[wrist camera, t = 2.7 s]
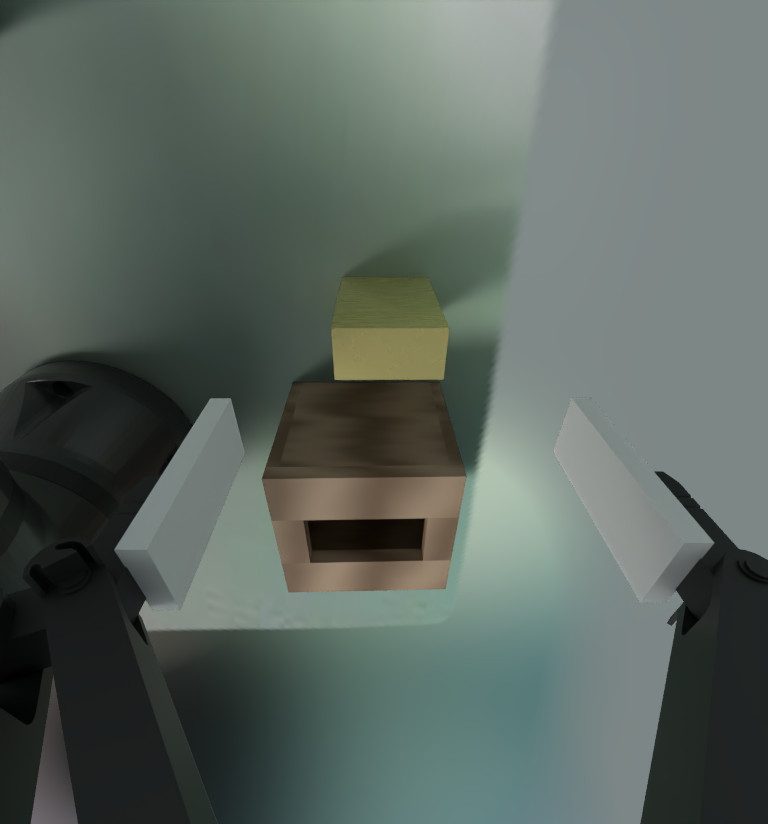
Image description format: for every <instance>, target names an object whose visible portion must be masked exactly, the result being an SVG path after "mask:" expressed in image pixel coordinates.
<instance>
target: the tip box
mask: <svg viewBox="0 0 768 824" xmlns="http://www.w3.org/2000/svg"><path fill="white" fill-rule="evenodd" d="M465 481H466V473H465V470H464V467H463V463H462V460H461V456H460V453H459V449H458V446H457V442H456V439H455V435H454V432H453V428H452V425H451V421H450V418H449V414H448V411H447V407H446V404H445V401H444V397H443V394H442V390H441V387H440V383H439V382H296V383H292V387H291V390H290V393H289V396H288V399H287V402H286V405H285V408H284V412H283V415H282V418H281V421H280V424H279V427H278V430H277V433H276V436H275V440H274V443H273V446H272V449H271V452H270V455H269V458H268V461H267V464H266V468H265V471H264V474H263V477H262V482H263V486H264V490H265V495H266V499H267V503H268V507H269V512H270V516H271V520H272V524H273V528H274V533H275V537H276V541H277V545H278V550H279V554H280V558H281V562H282V566H283V571H284V575H285V579H286V583H287V587H288V592H329V591H375V590H421V589H446V583H447V578H448V572H449V567H450V562H451V556H452V551H453V546H454V540H455V535H456V530H457V524H458V519H459V513H460V508H461V503H462V497H463V492H464V487H465Z"/></svg>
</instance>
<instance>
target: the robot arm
mask: <svg viewBox="0 0 768 824" xmlns="http://www.w3.org/2000/svg"><path fill="white" fill-rule="evenodd" d="M553 453H554V454H555V456H556V458H557V460H558V461H559V463H560V464H561V467H562V468H563V470H564V472H565V473H566V475H567V477H568V478H569V480H570V482H571V484H572V486H573V487H574V489H575V490H576V492H577V494H578V496H579V498H580V499H581V501H582V503H583V505H584V506H585V508H586V510H587V511H588V513H589V515H590V517H591V518H592V520H593V521H594V524H595V525H596V527H597V529H598V530H599V532H600V534H601V536H602V537H603V539H604V541H605V542H606V544H607V546H608V548H609V549H610V551H611V553H612V554H613V556H614V558H615V560H616V561H617V563H618V565H619V567H620V568H621V570H622V572H623V573H624V575H625V577H626V578H627V580H628V582H629V584H630V586H631V587H632V589H633V591H634V592H635V594H636V596H637V598H638V599H639V601H640V602H641V603H649V602H650V603H653V602H667V601H668V600H669V598H670V597H671V596H672V595H673V593H674V592H675V591H677V592H678V593H679V595H680V597H681V598H682V599H683V601H684V602H683V604H682V605H681V606H680V607H679V608H678V609H677V610H676V612H675V613H674V614H673V615H672V616H671V617H670V619H669V621H668V622H667V623H668V624H669V625H673V623H674V622H675V621H676V620H677V623H676V629H675V634H674V640H673V646H672V651H671V656H670V662H669V667H668V673H667V678H666V684H665V690H664V695H663V701H662V707H661V712H660V718H659V723H658V729H657V734H656V740H655V746H654V751H653V757H652V762H651V769H650V773H649V779H648V784H647V790H646V796H645V801H644V807H643V813H642V818H641V823H640V824H768V560H767V559H765V558H763V557H761V556H759V555H757V554H755V553H752V552H749V551H746V550H740V549H738V548H737V547H736V546H735V544H734V543H733V542H732V541H731V540H730V539H729V538H728V537H727V535H726V534H724V532H723V531H722V530H721V529H720V528H719V527H718V526H717V524H716V523H715V522H714V521H713V520H712V519H711V518H710V517H709V516H708V514H707V513H706V512H705V511H704V510H703V509H700V505H699V504H698V503H697V502H696V501H695V500H694V499H693V498H691V496H690V494H689V493H688V492H687V491H686V490H685V489H684V488H683V486H681V484H680V483H679V482H677V481H676V480H674V479H673V478H672V477H670V476H669V475H667V474H666V473H664V472H654V471H653V470H652V469H651V468H650V467H649V465H648V464H647V463H646V462H645V461H644V460H643V458H642V457H641V456H640V455H639V454H638V452H637V451H636V450H635V449H634V448H633V447H632V445H631V444H630V443H629V442H628V441H627V439H626V438H625V437H624V436H623V435H622V434H621V432H620V431H619V430H618V429H617V428H616V427H615V425H614V424H613V423H612V422H611V421H610V420H609V418H608V417H607V416H606V415H605V414H604V413H603V411H602V410H601V409H600V408H599V407H598V406H597V404H596V403H595V402H594V401H593V400H592V398H571V401H570V403H569V406H568V409H567V412H566V415H565V418H564V421H563V424H562V427H561V429H560V432H559V435H558V438H557V441H556V444H555V447H554V450H553ZM244 454H245V451H244V448H243V444H242V440H241V436H240V432H239V428H238V424H237V420H236V417H235V413H234V409H233V405H232V401H231V398H210V400H209V402H208V403H207V405H206V406H205V408H204V409H203V411H202V413H201V414H200V416H199V417H198V419H197V420H196V422H195V424H194V425H193V427H192V426H191V424H190V423H189V421H188V420H187V418H186V417H185V416H184V414H183V413H182V412H181V411H180V409H179V408H178V407H177V406H176V405H175V404H174V403H173V402H172V401H171V400H169V399H168V398H167V397H166V396H165V395H163V394H162V393H161V392H159V391H158V390H157V389H155V388H154V387H152V386H151V385H149V384H147V383H146V382H144V381H142V380H140V379H138V378H136V377H134V376H132V375H130V374H128V373H125V372H123V371H120V370H117V369H114V368H111V367H108V366H104V365H100V364H94V363H88V362H79V361H63V362H54V363H49V364H45V365H42V366H39V367H36V368H34V369H32V370H30V371H29V372H27V373H26V374H24V375H23V376H21V377H20V378H18V379H17V380H15V381H14V382H12V383H11V384H10V385H8V386H7V387H6V388H4V389H3V390H2V391H1V392H0V824H31V817H32V810H33V804H34V797H35V791H36V784H37V777H38V771H39V765H40V758H41V752H42V745H43V738H44V732H45V724H46V719H47V712H48V706H49V699H50V693H51V685H52V679H53V674H54V680H55V686H56V692H57V698H58V704H59V710H60V716H61V723H62V729H63V734H64V741H65V746H66V752H67V759H68V764H69V771H70V777H71V783H72V789H73V795H74V801H75V807H76V813H77V819H78V824H217V821H216V818H215V815H214V813H213V810H212V807H211V805H210V802H209V799H208V796H207V794H206V791H205V789H204V786H203V783H202V780H201V777H200V775H199V772H198V769H197V767H196V764H195V761H194V759H193V756H192V753H191V750H190V748H189V745H188V742H187V739H186V737H185V734H184V732H183V729H182V726H181V723H180V720H179V718H178V715H177V712H176V710H175V707H174V704H173V701H172V699H171V696H170V694H169V691H168V688H167V685H166V682H165V680H164V677H163V675H162V672H161V669H160V666H159V663H158V661H157V658H156V655H155V653H154V650H153V647H152V644H151V642H150V639H149V636H148V634H147V631H146V628H145V625H144V623H143V620H142V618H141V616H140V615H139V611H140V609H141V607H142V605H143V603H144V601H145V599H146V601H147V602H148V604H149V606H150V607H151V609H152V610H180V609H181V607H182V605H183V602H184V600H185V597H186V595H187V592H188V590H189V588H190V585H191V583H192V580H193V578H194V575H195V573H196V571H197V568H198V566H199V563H200V561H201V559H202V556H203V554H204V551H205V549H206V546H207V544H208V542H209V539H210V537H211V534H212V532H213V529H214V527H215V525H216V522H217V520H218V517H219V515H220V513H221V510H222V508H223V505H224V503H225V500H226V498H227V496H228V493H229V491H230V488H231V486H232V483H233V481H234V479H235V476H236V474H237V471H238V469H239V467H240V464H241V462H242V459H243V457H244Z"/></svg>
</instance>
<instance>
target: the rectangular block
mask: <svg viewBox="0 0 768 824" xmlns="http://www.w3.org/2000/svg"><path fill="white" fill-rule="evenodd" d="M331 335H332V349H333V363H334V377H335V380H444V371H445V363H446V354H447V346H448V337H449V326H448V324H447V321H446V319H445V317H444V314H443V312H442V310H441V307H440V305H439V303H438V300H437V298H436V296H435V293H434V291H433V288H432V286H431V284H430V281H429V279H428V277H342V279H341V283H340V288H339V293H338V298H337V302H336V307H335V312H334V317H333V321H332V326H331Z"/></svg>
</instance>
